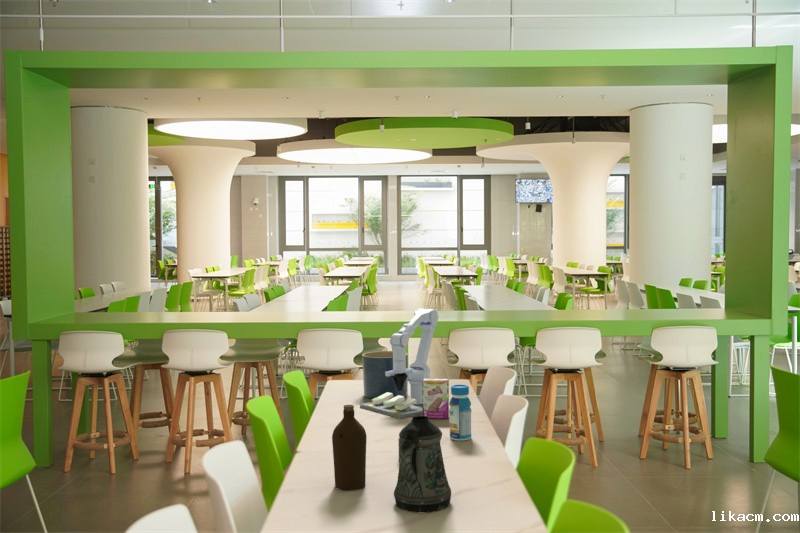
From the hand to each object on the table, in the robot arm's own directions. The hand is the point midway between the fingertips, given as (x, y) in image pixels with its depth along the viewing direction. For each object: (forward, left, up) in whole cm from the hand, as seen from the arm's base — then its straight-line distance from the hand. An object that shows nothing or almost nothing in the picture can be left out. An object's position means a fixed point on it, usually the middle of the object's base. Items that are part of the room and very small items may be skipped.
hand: (399, 390), depth 350 cm
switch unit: (+3, 0, -8) cm, 9 cm away
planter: (-14, -29, -9) cm, 33 cm away
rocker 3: (+3, +8, -4) cm, 10 cm away
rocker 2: (+3, 0, -4) cm, 5 cm away
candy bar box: (-1, +24, -9) cm, 25 cm away
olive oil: (+78, +76, -9) cm, 109 cm away
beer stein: (+72, +104, -9) cm, 127 cm away
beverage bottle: (+14, +56, -9) cm, 58 cm away
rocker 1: (+3, -9, -4) cm, 10 cm away
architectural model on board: (+44, +66, -9) cm, 80 cm away
